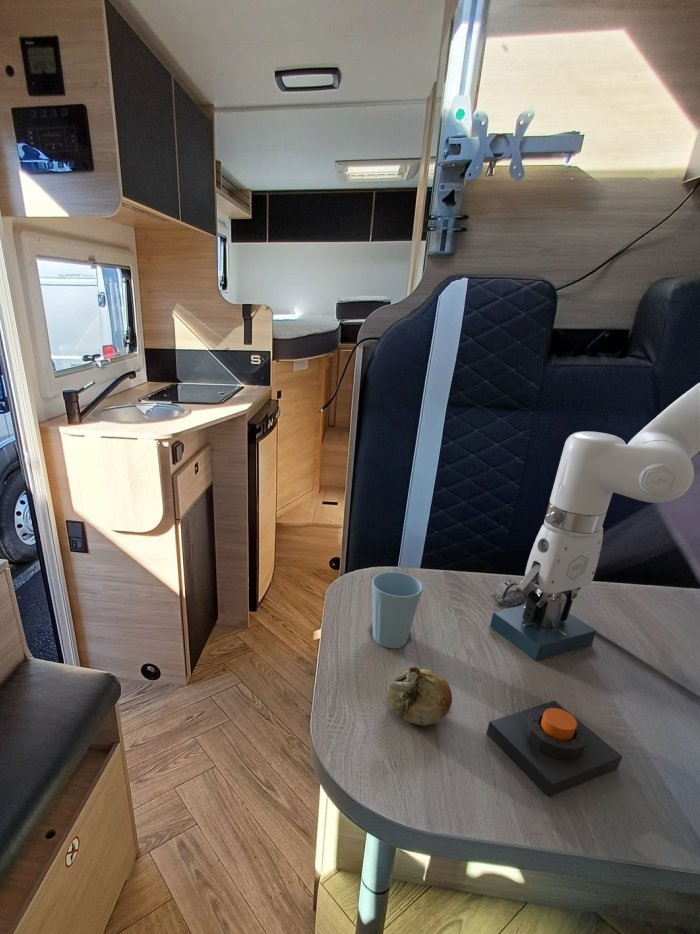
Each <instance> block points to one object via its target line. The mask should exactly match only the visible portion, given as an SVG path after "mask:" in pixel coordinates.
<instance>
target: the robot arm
mask: <svg viewBox="0 0 700 934" xmlns="http://www.w3.org/2000/svg"><path fill="white" fill-rule="evenodd" d="M699 452H700V382H698V383H696V384H695V385H694V386H693V387H691V388H690V389H689V390H687V391H686V392H685V393H683V394H681V396H679V397H678V398H677V399H676V400H674V401H673V402H672V403H671V404H669V405H668V406H667V407H666V408H665V409H663V410H662V411H661V412H660V413H659V414H658V415H656V417H655V418H653V419H652V420H651V421H650V422H649V423H648V424H646V425H645V426H644V427H643V428H642V429H641V430H640V431H639V432H637V433H636V434H635V435H634V436H633V437H632V438H630V440H629V441H628V443H627V444H626V442H625V440H624V439H622V437H619V436H617V435H614V434H610V433H606V432H599V431H590V430H589V431H576V432H573V433H572V434H570V435H569V436H568V437H567V438H566V440H565V442H564V446H563V449H562V453H561V456H560V460H559V465H558V468H557V470H556V471H557V472H556V475H555V480H554V483H553V487H552V490H551V494H550V497H549V502H548V504H547V505H548V506H547V510H546V512H545V516H544V521H543V523H542V525H541V527H540V529H539V531H538V533H537V535H536V537H535V541H534V542H533V546H532V548H531V551H530V554H529V557H528V560H527V563H526V567H525V571H524V577H523V578H522V579H521V581H520V582H518V583H519V585H516V589H518V590H519V591H520V592H522V593H523V595H524V596H525V598H526V599H527V600H526V603H525V604H526V606H525V610H524V614H523V619H524V620H525V621H527V622H528V623H530V624H531V625H532V626H534V627H535V628H539V627H540V626H541V623H542V620H543V616H544V613H545V610H546V607H545V606H543V605H544V603H545V601H546V599H547V597H548V595H549V594H554V593H559V592H562V593H564V594H565V595H566V597H567V600H566V603H565V606H564V609H563V613H562V616H561V619H560V620H561V621H566V620H567V617H568V614H569V613H570V611H571V608H572V605H573V601H574V600H575V599H576V598H577V597H578V593H579V591H580V589H581V588H583V587H586V586H589V585H590V584H591V583H592V582H593V580H594V577H595V574H596V570H597V567H598V563H599V559H600V555H601V551H602V546H603V545H602V544H603V538H604V527H603V525H604V522H605V519H606V516H607V512H608V509H609V506H610V502H611V500H612V496H613V493H614V494H618V495H621V496H625V497H627V498H631V499H634V500H637V501H641V502H645V503H651V504H652V503H653V504H661V503H667V502H672V501H674V500H676V499H679V498H680V497H682V496H683V495H684V494H686V492H687V491H688V490H689V489H690V488H691V486H692V484H693V481H694V479H695V468H694V465H693V461H692V460H691V459H692V458H693V457H695V456H696V455H697V454H698V453H699ZM538 589H539V590H541V591H542V592H541V594H540V596H538V595H537V594H536V591H537V590H538Z"/></svg>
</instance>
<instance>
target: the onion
mask: <svg viewBox="0 0 700 934" xmlns="http://www.w3.org/2000/svg"><path fill="white" fill-rule="evenodd" d="M388 687H389V691H388V696H389V700H390V704H391V706H392V708H393V711H394V712H396V714H397V715H398V716H399V717H400V718H401V719H403V720H404V721H405V722H407V723H409V724H412V725H419V726H429V725H433V724H435V723H438V722H439V721H441V720H442V719H444V717H446V716H447V715H448V713H449V711H450V709H451V708H452V707H451V706H452V703H453V695H452V690H451V687H450V685H449V683H448V681H447V680H446V679H445V678H444V677H443V676H442V675H440V674H438V673H437V672H435V671H432V670H430V669H427V668H420V667H418V666H416V665H415V666H411V667H409V668H407V669H405V670H403V671H401V672H400V673H399V674H398V675H396V677H395V679H394V680H388Z"/></svg>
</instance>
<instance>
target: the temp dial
mask: <svg viewBox="0 0 700 934" xmlns="http://www.w3.org/2000/svg"><path fill="white" fill-rule="evenodd" d="M541 592H542V591H541V590H539V589H538V588H537V590H536V592H535V593H536V594H537V595H538V596H540V594H541ZM566 600H567V597H566V595H565V594H564V593H562V592H559V593H554V594H549V595H548V597H547V599H546V601H545V603H544V605H543V606H545V607H546V610H545V613H544V616H543V620H542V623H541V626H540V627H544V628H556V627H557V626H558V625H559V622H560V619H561V616H562V613H563V609H564V606H565V603H566Z"/></svg>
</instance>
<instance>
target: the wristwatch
mask: <svg viewBox="0 0 700 934" xmlns="http://www.w3.org/2000/svg"><path fill="white" fill-rule="evenodd" d="M519 583H520V582H517V581H516V580H515V579H513V578H506V579H505V580H504V581H503V582H502V581H501V583H500V584H499V586H498V587H497V590H496V595H495V599H496V601H498V602H499V603H500V604H501V605H502V606H508V607H516V606H521V605H523V604H524V603H525V602H527V599H526V598H525V596H524V595H523V593H522V592H520V591H519V590H518V589H517V588H516V589H515V590H512V591H511V593H510V594H509V596H508V597H506V595H507V593H508V591H509V590H510V588H512V587H513V586H515V585H516V586H518V585H519Z"/></svg>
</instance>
